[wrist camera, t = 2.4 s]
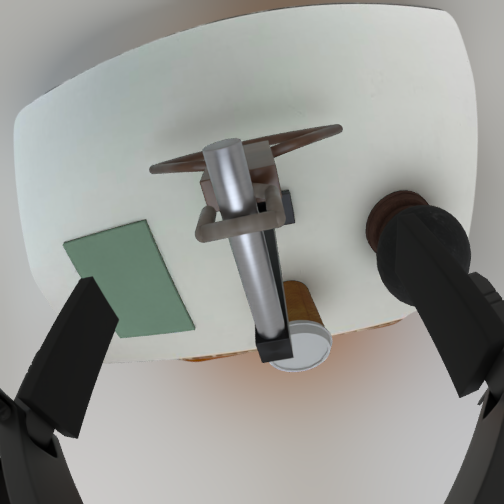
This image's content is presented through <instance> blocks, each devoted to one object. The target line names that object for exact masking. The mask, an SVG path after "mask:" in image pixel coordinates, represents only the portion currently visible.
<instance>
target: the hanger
mask: <svg viewBox="0 0 504 504" xmlns="http://www.w3.org/2000/svg"><path fill="white" fill-rule="evenodd" d="M342 130H343V128H342V126H341V125H339V124H335V125H328V126H321V127H315V128H309V129H303V130H297V131H291V132H286V133H280V134H275V135H270V136H265V137H260V138H255V139H251V140H246V141H242V146H243V150H244V154H245V158H246V162H247V166H248V170H249V174H250V178H251V182H252V186H253V190H254V195H255V199H256V203H260V202H266V210H267V212H262V213H257V214H252V215H247V216H242V217H238V218H233V219H228V220H224V221H219V222H215V218H216V212H218V211H220V209H219V206H218V202H217V199H216V196H215V192H214V189H213V186H212V182H211V179H210V175H209V172H208V169H207V165H206V162H205V158H204V155H203V152H202V151H201V152H197V153H193V154H189V155H186V156H182V157H179V158H175V159H172V160H168V161H165V162H161V163H158V164H155V165H152V166H151V167H150V168H149V171H150V173H151V174H162V173H178V172H197V171H204V173H203V175H202V178H201V180H200V185H201V188H202V191H203V194H204V198H205V201H206V204H207V206H205V207H204V208H203V209H202V211H201V214H200V217H199V220H198V224H197V227H196V230H195V237H196V239H197V240H198V241H199V242H202V243H205V242H210V241H215V240H220V239H224V238H229V237H234V236H239V235H244V234H249V233H254V232H259V231H264V230H269V229H274V228H279V227H281V226H283V225H284V223H285V221H286V216H285V212H284V208H283V204H282V200H281V198H282V193H281V188H280V183H279V178H278V174H277V169H276V164H275V161H274V158H275V157H277V156H280V155H282V154H285V153H287V152H290V151H292V150H295V149H298V148H300V147H303V146H306V145H308V144H311V143H314V142H316V141H319V140H322V139H325V138H328V137H330V136H333V135H336V134H339V133H341V132H342ZM279 143H280V144H279ZM274 144H277V145H275V146H272V147H270V145H274Z"/></svg>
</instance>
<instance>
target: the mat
mask: <svg viewBox="0 0 504 504" xmlns="http://www.w3.org/2000/svg"><path fill="white" fill-rule="evenodd" d="M63 246H64V248H65V250H66V252H67V254H68V256H69V258H70V259H71V261H72V263H73V265H74V266H75V268H76V270H77V272H78V273H79V275H80V277H81V278H86V277H91V276H93V277H94V279H95V281H96V283H97V284H98V286H99V288H100V289H101V291H102V293H103V294H104V296H105V298H106V299H107V301H108V303H109V304H110V306H111V307H112V309H113V311H114V312H115V314H116V315H117V317H118V318H119V322H118V324H117V327H116V329H115V331H116V333H117V334H118V336H119V337H120V338H127V337H138V336H147V335H157V334H166V333H174V332H182V331H190V330H195V326H194V324H193V322H192V320H191V318H190V316H189V314H188V312H187V310H186V308H185V306H184V304H183V302H182V300H181V298H180V296H179V294H178V292H177V290H176V287H175V285H174V283H173V281H172V279H171V277H170V274H169V272H168V270H167V268H166V266H165V264H164V261H163V259H162V257H161V255H160V252H159V250H158V248H157V245H156V243H155V241H154V238H153V236H152V234H151V231H150V229H149V227H148V224H147V222H146V220H143V221H139V222H135V223H131V224H128V225H124V226H120V227H117V228H113V229H110V230H106V231H103V232H99V233H96V234H92V235H89V236H85V237H82V238H79V239H75V240H72V241H69V242H65V243H64V244H63Z"/></svg>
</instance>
